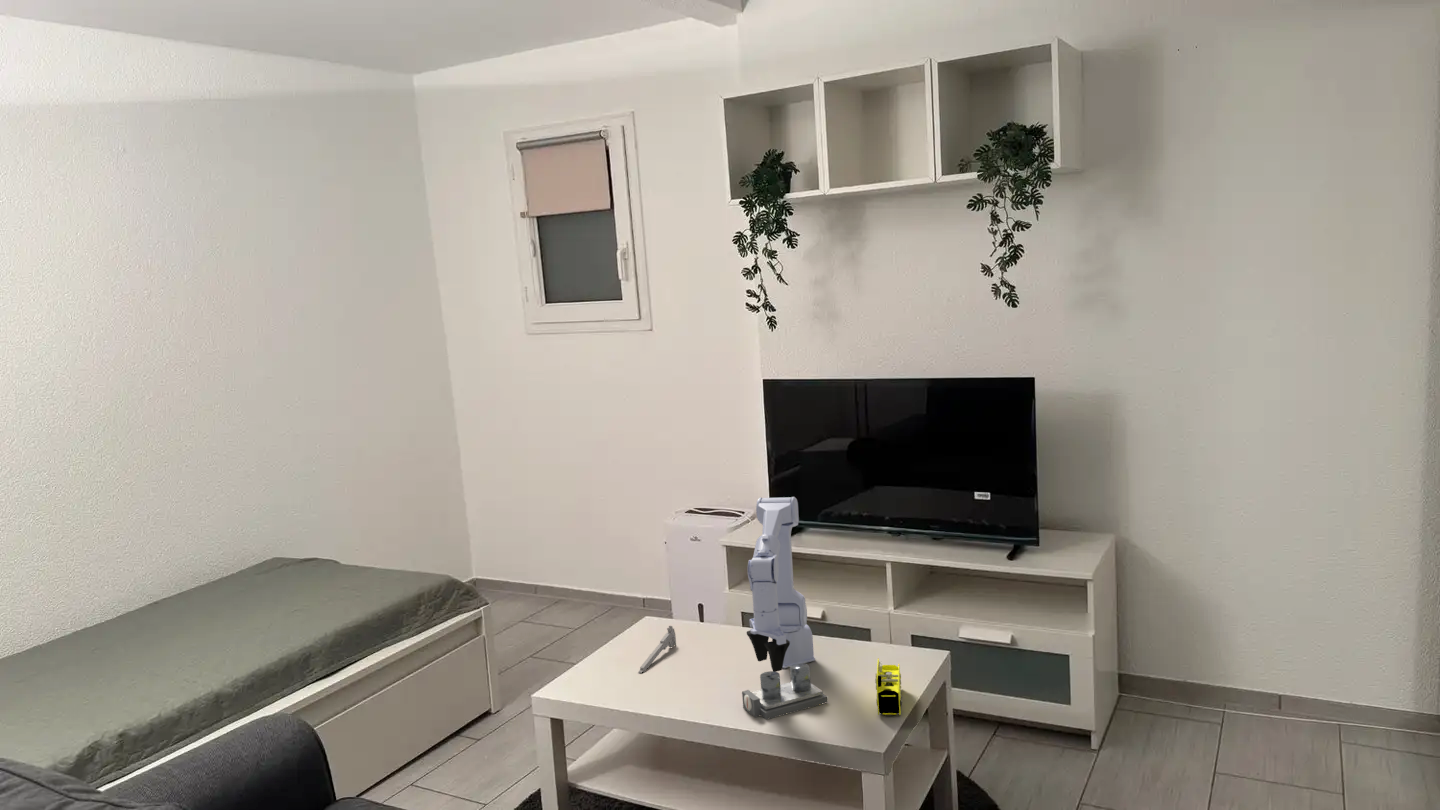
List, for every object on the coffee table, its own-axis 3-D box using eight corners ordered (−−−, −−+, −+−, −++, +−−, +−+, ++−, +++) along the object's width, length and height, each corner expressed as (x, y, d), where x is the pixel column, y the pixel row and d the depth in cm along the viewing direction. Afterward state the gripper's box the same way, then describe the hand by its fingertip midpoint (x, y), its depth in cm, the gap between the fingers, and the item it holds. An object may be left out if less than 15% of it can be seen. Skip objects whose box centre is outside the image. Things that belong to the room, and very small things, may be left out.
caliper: (672, 645, 286) (671, 623, 285) (676, 646, 286) (674, 624, 285) (638, 674, 267) (636, 650, 267) (641, 674, 267) (639, 651, 266)
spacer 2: (800, 682, 248) (798, 662, 247) (814, 686, 244) (812, 665, 244) (787, 688, 245) (785, 668, 244) (802, 692, 241) (800, 671, 241)
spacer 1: (775, 690, 244) (774, 669, 244) (784, 696, 240) (782, 676, 239) (758, 694, 243) (756, 674, 242) (766, 701, 238) (765, 680, 238)
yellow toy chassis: (877, 689, 247) (875, 655, 246) (902, 689, 246) (900, 655, 245) (876, 718, 232) (874, 682, 231) (902, 718, 231) (900, 682, 230)
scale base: (804, 686, 251) (803, 670, 251) (827, 702, 241) (826, 685, 241) (737, 704, 244) (736, 687, 244) (758, 721, 234) (757, 703, 234)
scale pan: (804, 681, 250) (803, 678, 250) (823, 694, 242) (822, 691, 242) (748, 696, 244) (747, 693, 244) (765, 709, 236) (765, 706, 236)
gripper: (736, 603, 244) (740, 659, 245) (764, 620, 230) (768, 679, 232) (763, 597, 246) (767, 652, 248) (792, 614, 233) (796, 672, 235)
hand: (769, 665), depth 240 cm, fingers open, 7 cm apart
